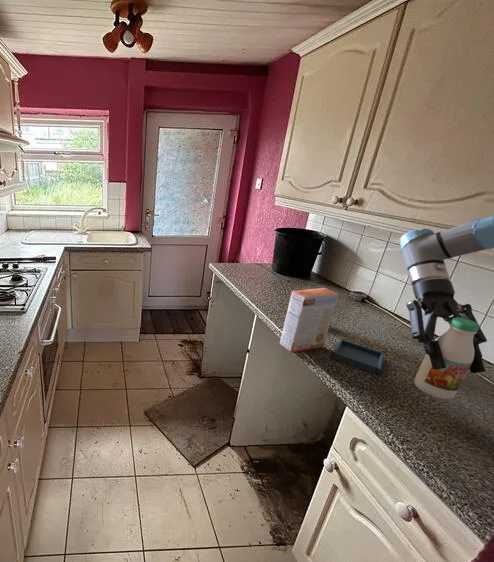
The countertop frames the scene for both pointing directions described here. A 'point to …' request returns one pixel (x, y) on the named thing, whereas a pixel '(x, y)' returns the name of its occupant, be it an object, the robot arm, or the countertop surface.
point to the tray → (359, 356)
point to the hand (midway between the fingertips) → (458, 370)
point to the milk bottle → (449, 360)
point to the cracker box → (308, 319)
